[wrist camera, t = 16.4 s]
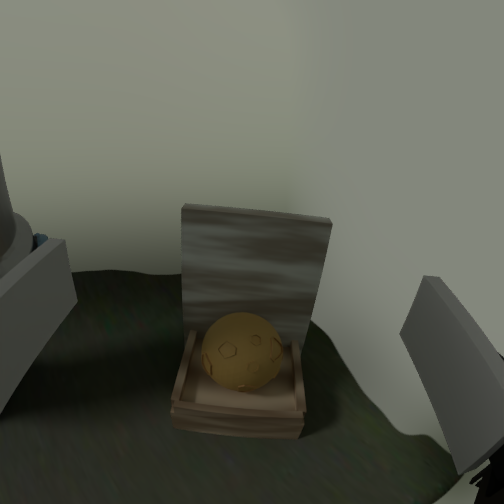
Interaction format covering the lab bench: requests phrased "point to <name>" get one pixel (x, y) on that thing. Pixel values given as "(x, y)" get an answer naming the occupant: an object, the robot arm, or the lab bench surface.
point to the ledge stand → (251, 301)
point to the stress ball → (242, 352)
